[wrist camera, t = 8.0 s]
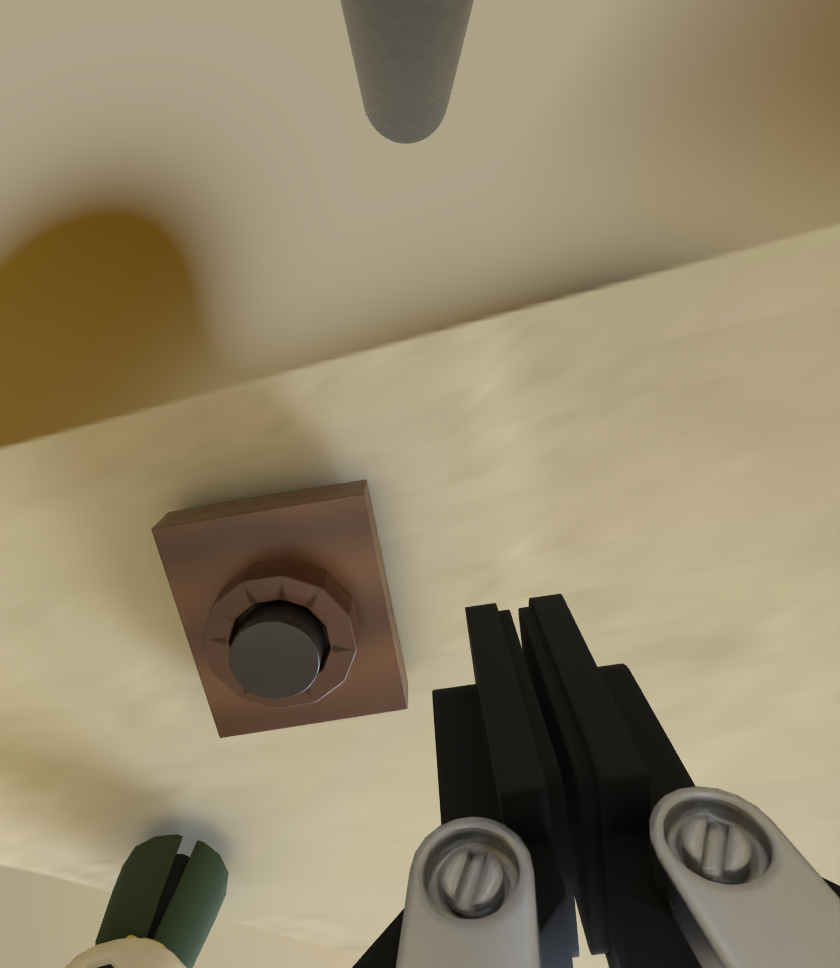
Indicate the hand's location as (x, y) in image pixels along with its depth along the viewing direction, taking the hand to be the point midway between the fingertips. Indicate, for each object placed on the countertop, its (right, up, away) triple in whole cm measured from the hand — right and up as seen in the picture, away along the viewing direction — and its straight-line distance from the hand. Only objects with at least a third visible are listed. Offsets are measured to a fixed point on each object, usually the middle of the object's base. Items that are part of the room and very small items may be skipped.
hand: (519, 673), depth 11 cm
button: (-8, -4, +18) cm, 20 cm away
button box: (-8, -3, +21) cm, 23 cm away
